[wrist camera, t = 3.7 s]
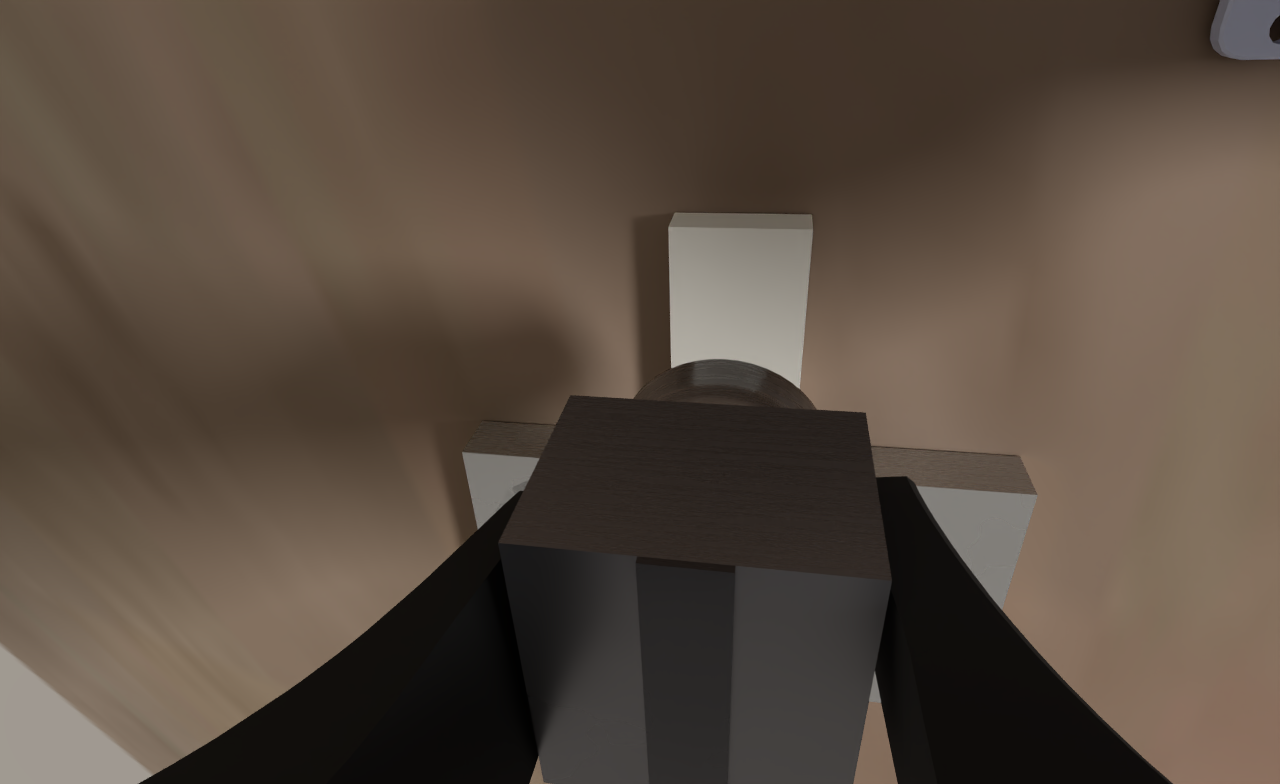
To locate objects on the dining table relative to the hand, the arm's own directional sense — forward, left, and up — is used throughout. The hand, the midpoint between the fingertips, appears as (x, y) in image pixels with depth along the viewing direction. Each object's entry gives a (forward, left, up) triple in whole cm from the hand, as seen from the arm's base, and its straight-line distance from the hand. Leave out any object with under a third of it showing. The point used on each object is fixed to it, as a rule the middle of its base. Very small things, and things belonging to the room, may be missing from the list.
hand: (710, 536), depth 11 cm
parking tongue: (0, 0, -8) cm, 8 cm away
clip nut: (0, 0, -2) cm, 2 cm away
